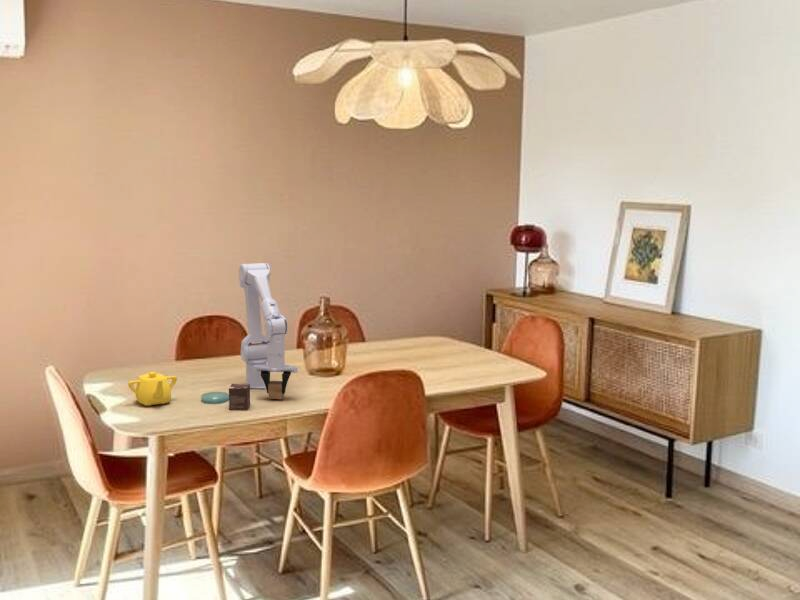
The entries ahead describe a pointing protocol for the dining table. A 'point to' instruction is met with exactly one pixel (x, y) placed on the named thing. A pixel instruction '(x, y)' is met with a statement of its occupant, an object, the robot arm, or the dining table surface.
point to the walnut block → (275, 390)
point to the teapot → (152, 388)
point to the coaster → (215, 397)
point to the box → (239, 396)
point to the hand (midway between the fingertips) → (276, 392)
